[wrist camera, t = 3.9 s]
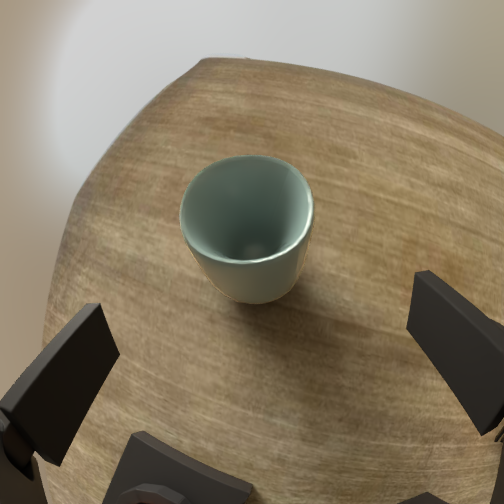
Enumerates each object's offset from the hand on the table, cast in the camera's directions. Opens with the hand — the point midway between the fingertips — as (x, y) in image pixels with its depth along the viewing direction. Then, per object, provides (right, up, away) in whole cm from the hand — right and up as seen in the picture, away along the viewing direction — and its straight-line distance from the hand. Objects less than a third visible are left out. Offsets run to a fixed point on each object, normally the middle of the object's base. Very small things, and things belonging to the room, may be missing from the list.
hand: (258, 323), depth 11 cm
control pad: (-7, -19, +5) cm, 21 cm away
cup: (0, +1, +14) cm, 14 cm away
